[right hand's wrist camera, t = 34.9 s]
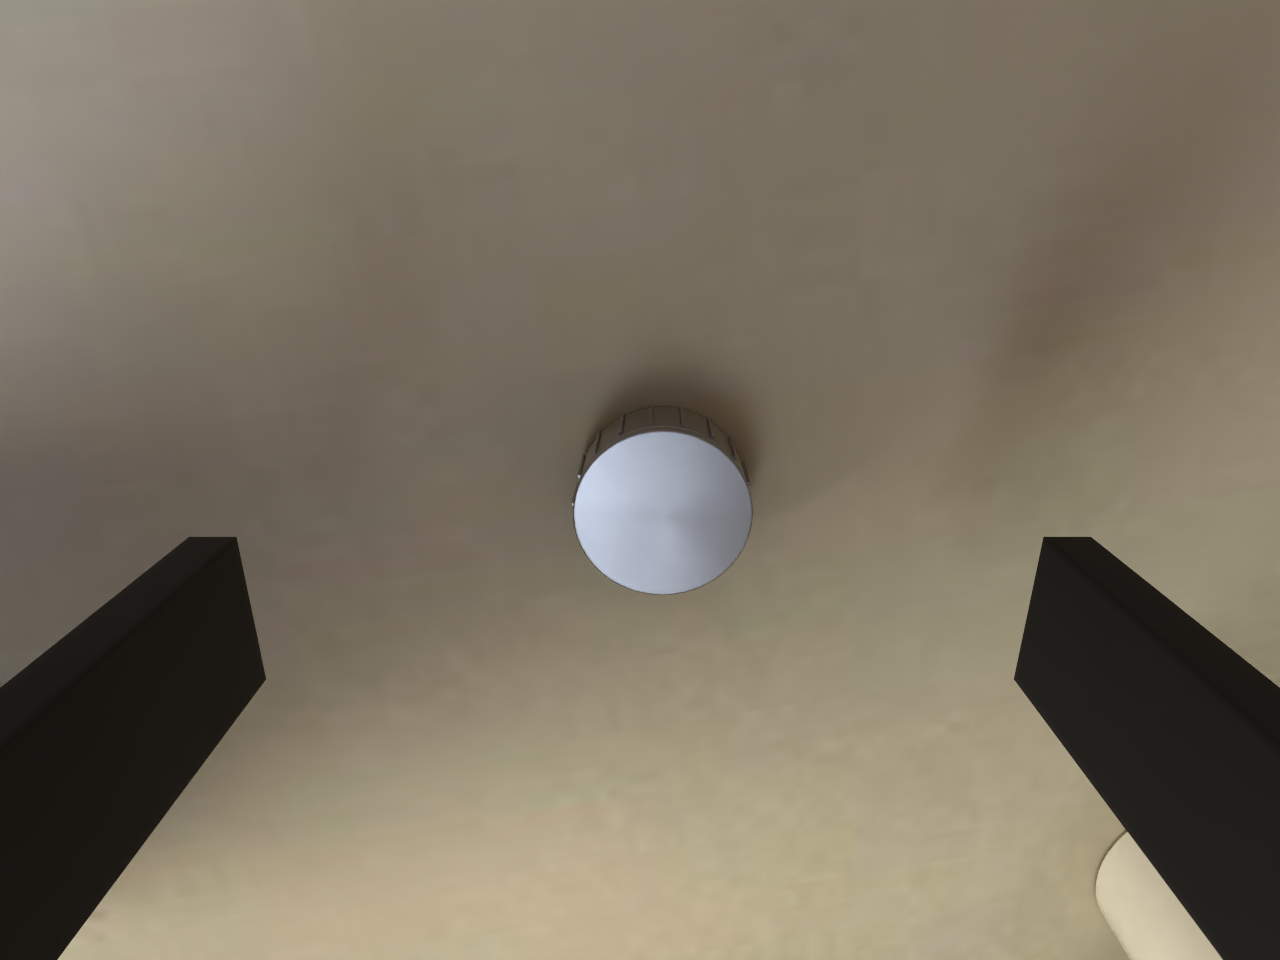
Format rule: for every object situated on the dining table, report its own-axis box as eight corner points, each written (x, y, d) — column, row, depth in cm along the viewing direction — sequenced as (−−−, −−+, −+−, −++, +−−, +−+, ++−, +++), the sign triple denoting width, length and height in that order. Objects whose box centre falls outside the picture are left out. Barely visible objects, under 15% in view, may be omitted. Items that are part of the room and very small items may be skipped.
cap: (544, 470, 18) (532, 500, 17) (679, 369, 17) (682, 390, 16) (645, 588, 19) (644, 628, 18) (778, 499, 18) (791, 531, 17)
